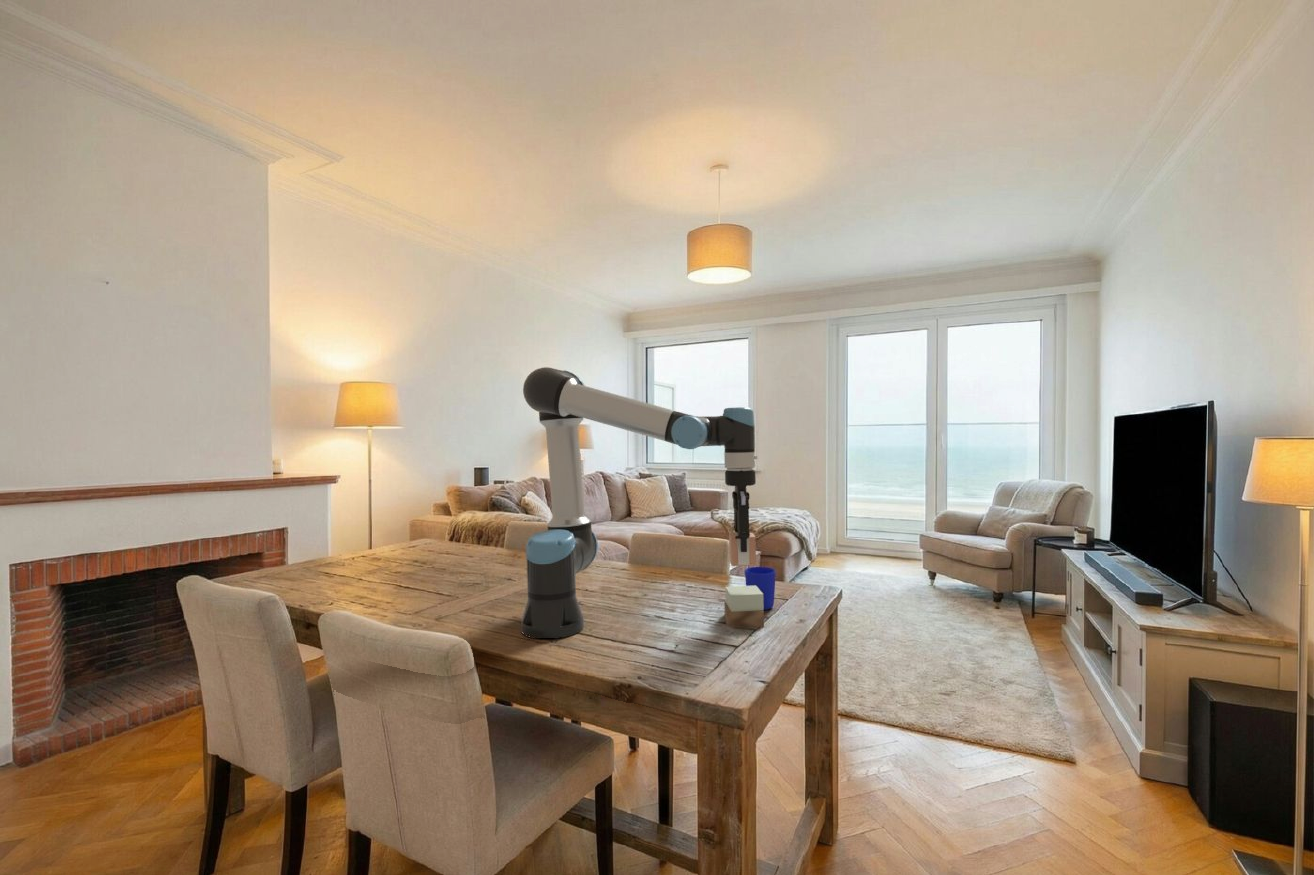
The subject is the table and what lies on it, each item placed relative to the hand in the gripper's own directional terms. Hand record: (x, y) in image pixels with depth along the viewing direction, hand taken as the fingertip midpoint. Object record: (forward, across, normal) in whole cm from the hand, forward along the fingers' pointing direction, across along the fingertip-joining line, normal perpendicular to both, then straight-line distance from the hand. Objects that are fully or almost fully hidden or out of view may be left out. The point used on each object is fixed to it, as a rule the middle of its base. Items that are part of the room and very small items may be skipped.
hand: (742, 561), depth 150 cm
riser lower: (+15, 0, 0) cm, 15 cm away
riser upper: (+11, 0, 0) cm, 11 cm away
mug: (+15, +13, -6) cm, 21 cm away
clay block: (0, 0, 0) cm, 0 cm away
